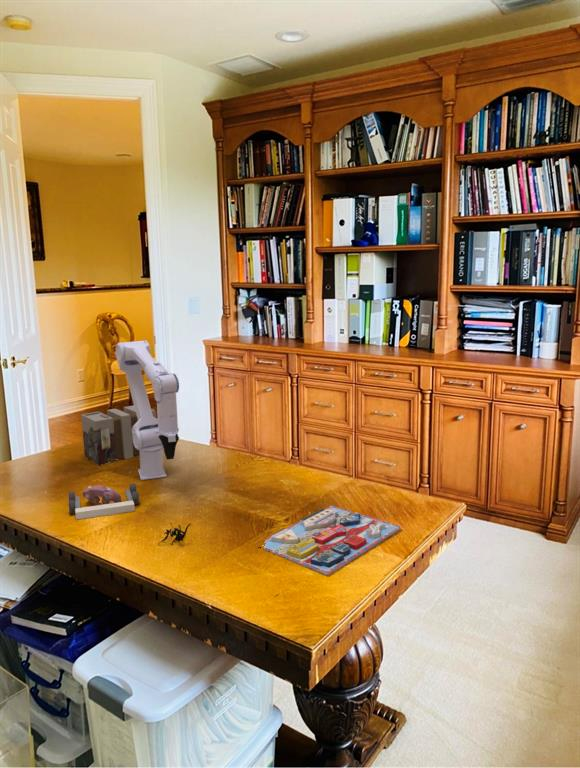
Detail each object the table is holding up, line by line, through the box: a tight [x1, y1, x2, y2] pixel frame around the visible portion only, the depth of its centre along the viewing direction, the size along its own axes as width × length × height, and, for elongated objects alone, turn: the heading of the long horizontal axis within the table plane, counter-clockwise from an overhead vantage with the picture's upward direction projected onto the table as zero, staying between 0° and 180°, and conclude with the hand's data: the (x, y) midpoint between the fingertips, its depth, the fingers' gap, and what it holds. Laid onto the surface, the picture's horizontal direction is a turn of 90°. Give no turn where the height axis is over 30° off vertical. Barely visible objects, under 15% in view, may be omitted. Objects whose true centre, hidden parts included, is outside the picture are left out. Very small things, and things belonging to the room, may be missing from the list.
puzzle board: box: [262, 505, 402, 577], centre depth 151 cm, size 30×23×3 cm
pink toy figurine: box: [82, 484, 122, 505], centre depth 174 cm, size 10×5×7 cm, turn 77°
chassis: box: [68, 483, 140, 521], centre depth 173 cm, size 14×19×4 cm
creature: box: [158, 523, 192, 546], centre depth 151 cm, size 8×5×8 cm
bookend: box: [80, 404, 157, 466], centre depth 218 cm, size 16×25×16 cm, turn 130°
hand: (169, 458), depth 184 cm, fingers closed
